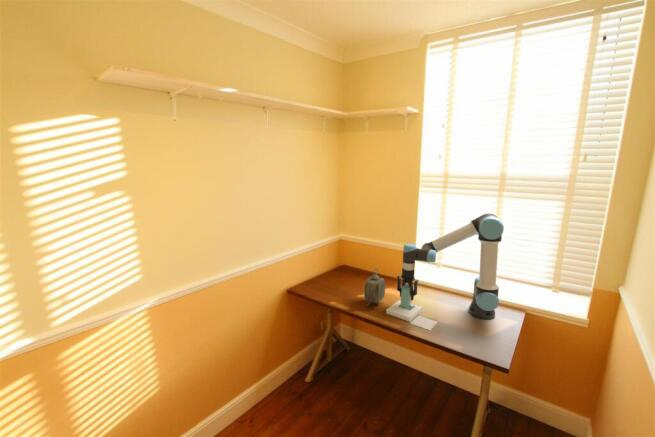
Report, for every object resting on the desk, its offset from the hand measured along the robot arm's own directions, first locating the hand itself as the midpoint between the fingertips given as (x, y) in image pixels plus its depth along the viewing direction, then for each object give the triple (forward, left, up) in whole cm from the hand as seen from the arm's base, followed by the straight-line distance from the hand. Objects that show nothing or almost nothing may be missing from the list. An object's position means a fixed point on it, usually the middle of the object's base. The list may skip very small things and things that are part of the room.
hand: (406, 303), depth 201 cm
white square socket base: (0, +3, -5) cm, 6 cm away
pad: (-15, +8, -5) cm, 18 cm away
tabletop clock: (+20, +6, -5) cm, 21 cm away
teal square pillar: (0, 0, -4) cm, 4 cm away
